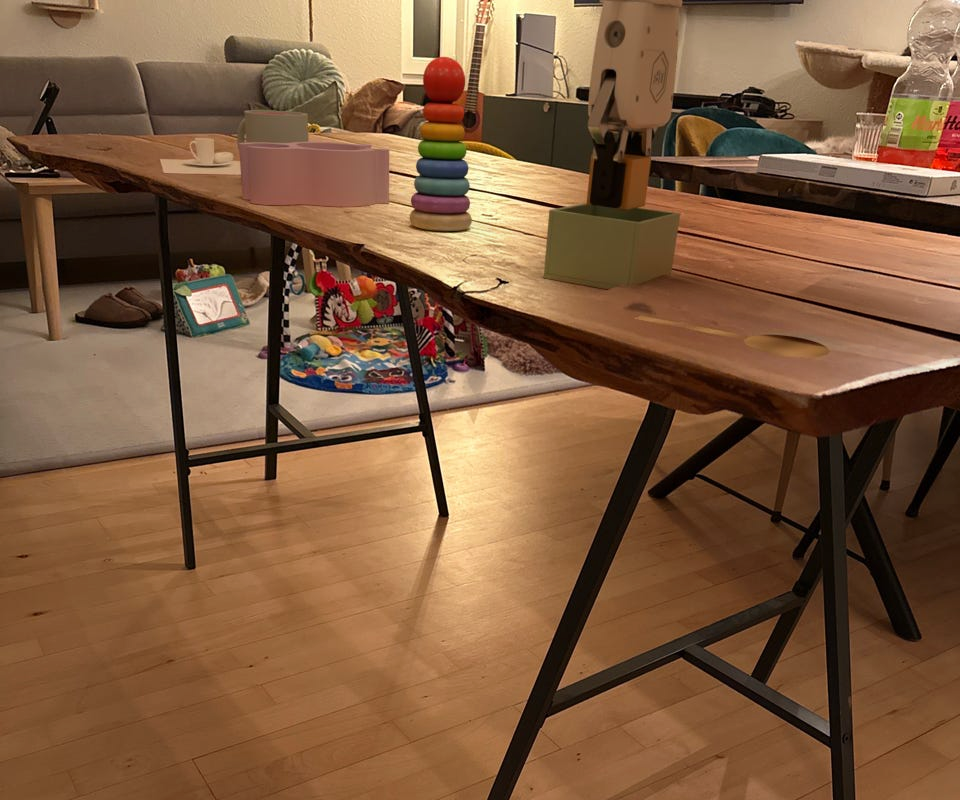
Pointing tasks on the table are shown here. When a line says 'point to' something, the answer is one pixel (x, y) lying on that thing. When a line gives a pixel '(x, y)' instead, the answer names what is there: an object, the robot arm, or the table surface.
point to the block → (630, 181)
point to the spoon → (761, 341)
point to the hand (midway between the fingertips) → (616, 201)
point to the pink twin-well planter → (314, 174)
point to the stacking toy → (442, 153)
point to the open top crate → (609, 245)
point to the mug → (273, 127)
